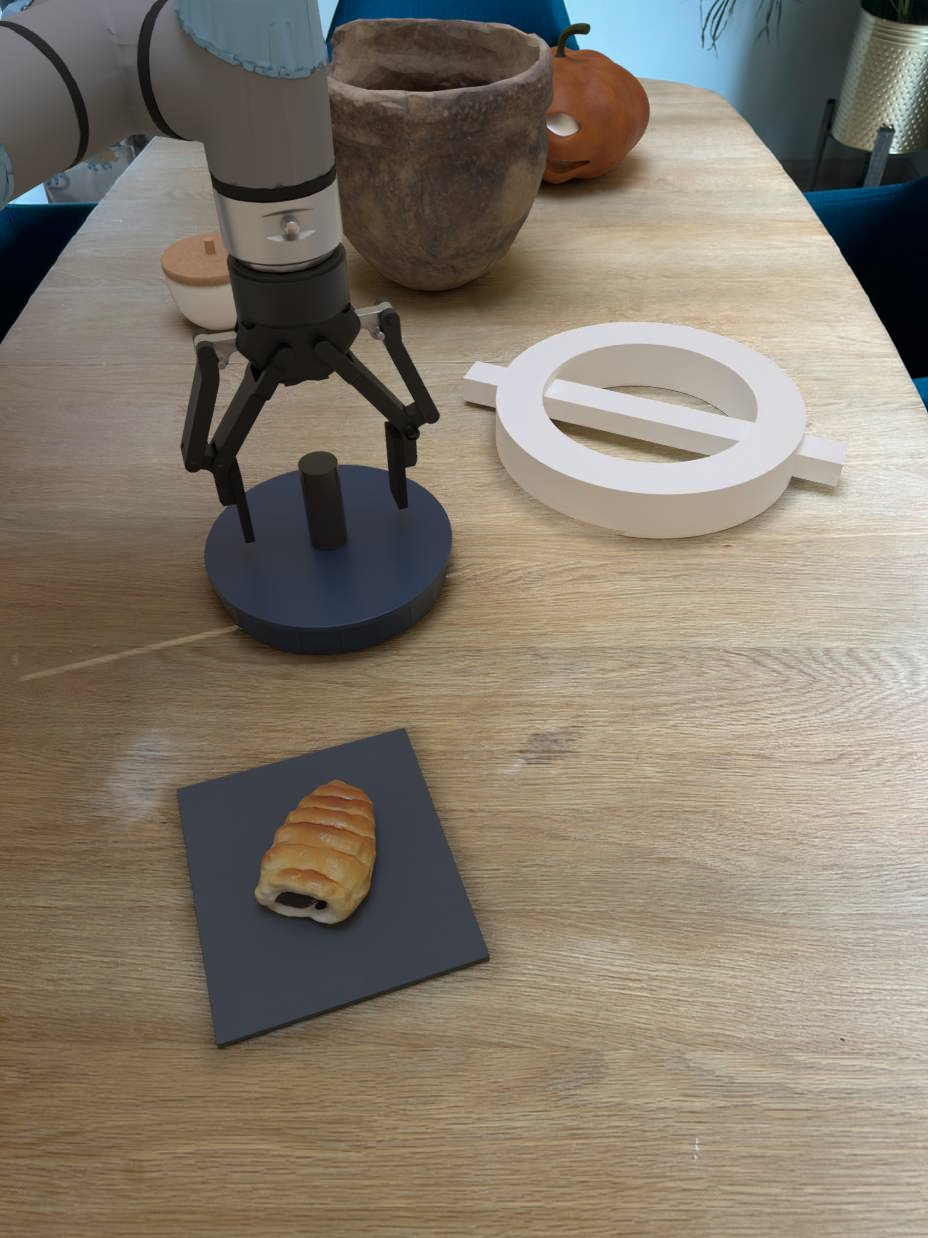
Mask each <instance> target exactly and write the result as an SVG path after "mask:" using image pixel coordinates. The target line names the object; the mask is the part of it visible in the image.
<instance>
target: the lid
mask: <svg viewBox="0 0 928 1238" xmlns="http://www.w3.org/2000/svg"><path fill="white" fill-rule="evenodd" d="M406 483H407V498H408V508H405V509H401V510H399V509H398V506H397V504H396V502H395V500H394V498H393V495H392V493H391V491H390V485H389V473H388V469H383V468H379V467H373V466H369V465H368V466H367V465H362V464H361V465H359V464H339V460H338V457H336V455H334V454H333V453H332V452H328V451H325V450H324V451H323V450H317V451H311V452H309V453H306V454H304V455H302V457H300V459H299V460H298V461H297V469H295V470H292V471H287V472H284V473H281V474H279V475H276V476H274V477H271V478H268V479H266V480H264V481H262V482H260V483H258V484H257V485H254V486H253V487H251V488H249V489H248V490H246V491H245V494H246V499H247V504H248V508H249V513H250V518H251V522H252V527H253V531H254V536H255V541H256V542H251V543H246V542H245V539H244V535H243V531H242V528H241V524H240V520H239V515H238V511H237V507H236V504H235V505H230V506H225V508H224V509H223V510H222V511H221V513H220V514H219V515H218V517H217V518H216V520H215V521H214V522H213V524H212V526H211V528H210V530H209V532H208V534H207V537H206V541H205V544H204V552H203V559H204V567H205V571H206V575H207V577H208V580H209V582H210V585H211V586H212V588H213V589H214V592H215V593H216V594H217V595H218V596H219V597H220V599H221V598H222V600H223V601H224V602H225V603H227V604H228V605H229V606H230V607H231V608H233V609H234V610H235V611H237V612H238V613H240V614H242V615H243V616H245V617H247V618H249V619H251V620H254V621H256V622H258V623H261V624H264V625H267V626H271V627H274V628H278V629H284V630H289V631H298V632H333V631H343V630H348V629H353V628H358V627H362V626H365V625H369V624H372V623H376V622H378V621H381V620H383V619H386V618H388V617H391V616H393V615H395V614H397V613H399V612H400V611H402V610H404V609H406V608H408V607H409V606H411V605H412V604H413V603H415V602H416V601H418V600H419V599H420V598H421V597H423V596H424V595H425V594H426V593H427V592H428V591H429V590H430V589H431V588H432V587H433V586H434V585H435V584H436V582H437V581H438V580H439V578H440V577H441V575H442V574H443V572H444V571H445V572H446V569H447V566H448V563H449V562H450V559H451V555H452V550H453V529H452V524H451V521H450V518H449V515H448V513H447V512H446V509H445V508H444V507H443V505H442V503H441V502H440V501H439V500H438V499H437V497H436V496H435V495H434V494H433V493H431V491H429V490H428V489H427V488H425V487H424V486H423V485H421V484H419V483H418V482H416V481H415V480H412V479H411V478H409V477H406ZM222 600H221V601H222Z"/></svg>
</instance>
